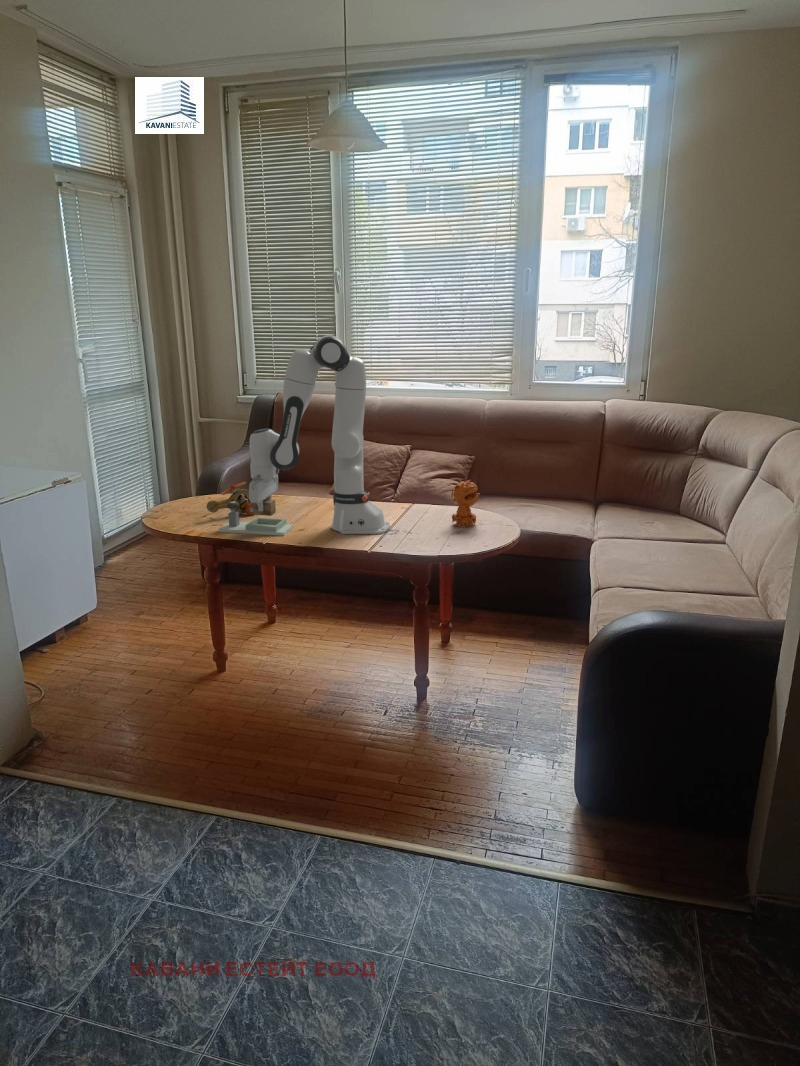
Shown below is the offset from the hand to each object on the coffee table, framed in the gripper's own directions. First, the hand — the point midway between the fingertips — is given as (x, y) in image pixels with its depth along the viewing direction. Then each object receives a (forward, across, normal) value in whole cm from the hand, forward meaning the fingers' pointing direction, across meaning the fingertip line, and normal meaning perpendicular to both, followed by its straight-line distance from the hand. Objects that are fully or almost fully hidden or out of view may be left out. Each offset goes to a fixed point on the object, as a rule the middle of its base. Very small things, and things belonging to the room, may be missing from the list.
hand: (264, 508), depth 269 cm
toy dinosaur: (+8, +22, -73) cm, 77 cm away
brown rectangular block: (+2, 0, 0) cm, 2 cm away
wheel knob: (+4, 0, +13) cm, 13 cm away
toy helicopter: (+9, +16, +20) cm, 27 cm away
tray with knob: (+8, 0, +4) cm, 9 cm away
